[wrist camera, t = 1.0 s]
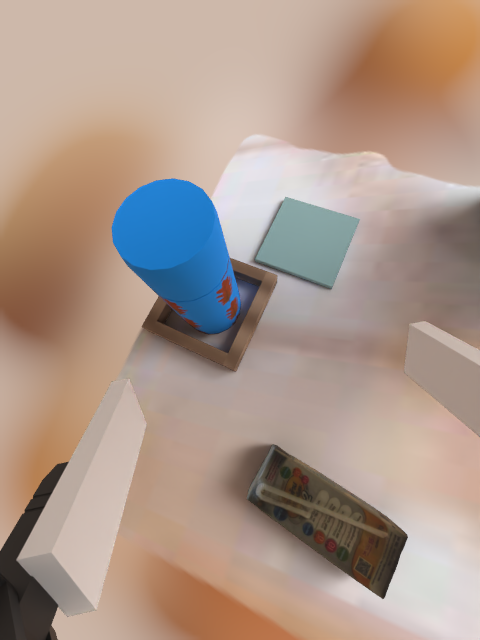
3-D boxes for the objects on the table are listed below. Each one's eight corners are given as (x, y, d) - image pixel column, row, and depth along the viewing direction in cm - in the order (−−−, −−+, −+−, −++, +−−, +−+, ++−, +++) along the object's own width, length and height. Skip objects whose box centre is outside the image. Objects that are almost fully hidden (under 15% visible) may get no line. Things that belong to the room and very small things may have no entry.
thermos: (224, 345, 48) (180, 289, 24) (174, 320, 50) (88, 247, 27) (251, 293, 50) (236, 196, 26) (202, 271, 53) (147, 164, 29)
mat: (285, 200, 55) (285, 196, 54) (358, 222, 52) (359, 219, 51) (255, 261, 52) (255, 258, 51) (331, 289, 49) (332, 286, 48)
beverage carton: (273, 439, 43) (274, 446, 37) (391, 516, 39) (415, 539, 32) (247, 487, 41) (244, 503, 35) (367, 573, 37) (388, 608, 31)
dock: (193, 251, 54) (189, 242, 51) (276, 282, 50) (277, 275, 48) (148, 331, 50) (141, 326, 47) (235, 371, 46) (233, 369, 44)
